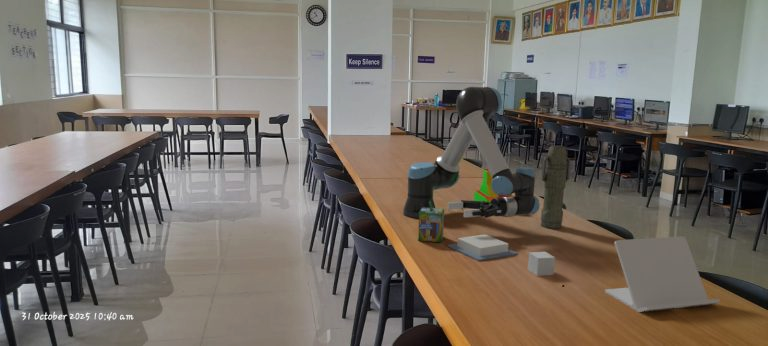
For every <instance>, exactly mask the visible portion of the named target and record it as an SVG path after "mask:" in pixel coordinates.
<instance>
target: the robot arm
mask: <svg viewBox="0 0 768 346" xmlns="http://www.w3.org/2000/svg"><path fill="white" fill-rule="evenodd" d="M502 105H503V100H502V95H501V93H500V92H499V90H497V89H496V88H495V87H489V86H483V87H482V86H468V87H465V88H464V89H462V90H461V91H460V92H459V94H458V95H457V98H456V104H455V106H456V112H457V115H458V118H459V119H460V123H459V125H458V127H457V128H456V130H455V132H454V134H453V136H452V137H451V139H450V141H449V142H448V144H447V147H446V148H445V150H444V152H443V153H442V155H439V156H437V157H436V159H435V161H434V163H432V162H429V161H422V162H415V163H412V164H411V165H409V167H408V173H407V198H406V200H405V203H404V206H403V208H402V214H403V215H404V216H405V217H408V218H409V217H410V218H414V219H415V218H416V219H419V212H420V210H421V208H422V207H424V208H430V206H429V202H430V201H431V204H432V208H436V205H435V201H434V191H436V190H443V189H449V188H450V187H453V186H455V185H457V183H458V181H459V179H460V169H461V168H460V163H461V161H462V160H463V158H464V156H465V154H466V153H467V151H468V150H469V147H470V145H471V144H472V142H474V144H475V145H476V148H477V149H478V152H479V153H480V157H481V158H482V160H483V163H484V164H485V166H486V168H487V170H489V172H490V174H491V176H492V178H493V180H492V183H491V185H492V190H493V192H494V193H495V194H497V195H509V194H514V196H515V197H503V198H493V199H492V201H491V202H490V203H489V202H485V201H474V200H462V199H461V200H460V201H451V202H449V201H448V202H447V210H448V211H449V210H463V218H475V217H481V218H482V217H483V218H484V219H485V218H491V217H503V216H504V217H508V218H509V217H511V216H518V215H519V216H521V215H522V216H524V215H525V216H526V215H532V214H535V213H537V212H538V211H540V200H539V198H538V197H537V196H535V195H534V194H535V183H536V171H535V168H534V167H528V166H519V167H517V168H516V169H515V173H512V171H511V169H510V168H509V166H508V163H507V161H506V159H505V157H504V155H503V154H502V152H501V150H500V147H499V145H498V143H497V141H496V139H495V138H494V136H493V134H492V132H491V130H490V128H489V126H488V124H487V123H488V122H489V120H490V118H491V116H492V115H495V114H497V113H498V112H500V110H501V109H502ZM431 204H430V205H431ZM480 207H481V208H480Z"/></svg>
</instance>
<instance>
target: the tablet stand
mask: <svg viewBox="0 0 768 346" xmlns="http://www.w3.org/2000/svg"><path fill="white" fill-rule="evenodd" d="M613 243H614V247H615V250H616V253H617V256H618V259H619V262H620V265H621V269H622V272H623V276H624V278H625V282H626V285H627V287H618V288H608V289H607V288H605V289H604V292H605V294H607V295H609V296H610V295H611V296H610V297H612V296H613V297H612V298H614V299H616V300H617V299H618V300H617V301H619V300H620V301H619V302H621V303H622V302H623V304H624V305H626V306H628V307H629V306H630V307H629V308H631V309H633V310H634V309H635V311H636V310H637V311H636V312H637V313H645V312H652V311H654V310H655V311H662V310H672V309H673V308H674V309H681V308H693V307H700V306H701V305H702V306H710V305H711V304H712V305H716V304H719V303H721V301H720V298H715V299H709V298H708V295H707V292H706V290H705V286H704V284H703V282H702V278H701V276H700V273H699V271H698V268H697V266H696V263H695V260H694V256H693V255H692V254H693V253H692V252H691V249H690V246H689V243H688V241H687V238H686V236H683V235H682V236H668V237H666V236H665V237H650V238H635V239H634V238H633V239H632V238H631V239H618V240H615V241H614V242H613ZM692 306H693V307H692ZM702 306H701V307H702ZM644 311H645V312H644Z"/></svg>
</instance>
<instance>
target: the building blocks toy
mask: <svg viewBox="0 0 768 346" xmlns="http://www.w3.org/2000/svg"><path fill="white" fill-rule="evenodd" d="M482 174H483V178H482V182H481V185H480V186H479V189H478V190H474V191H473V192H474V193H473V194H474V195H473V201H485V202H489V203H490V202H491V201H492V199H493V198H503V197H515V195H512V194H513V193H512V194H509V195H497V194H495V193H494V192H493V190H492V185H491V183H492V180H493V178H492V176H491V174H490V172H489V170H488V168H487V169H483V173H482ZM480 209H481V207H480Z"/></svg>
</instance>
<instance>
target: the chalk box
mask: <svg viewBox="0 0 768 346" xmlns="http://www.w3.org/2000/svg"><path fill="white" fill-rule="evenodd" d="M430 204H431V201H430V202H429V206H430V208H424V207H422V208H421V210H420V212H419V218H418V239H417V241H419V242H433V243H442V241H443V238H444V222H445V221H444V220H445V208H438V207H435V208H432V204H431V205H430Z"/></svg>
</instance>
